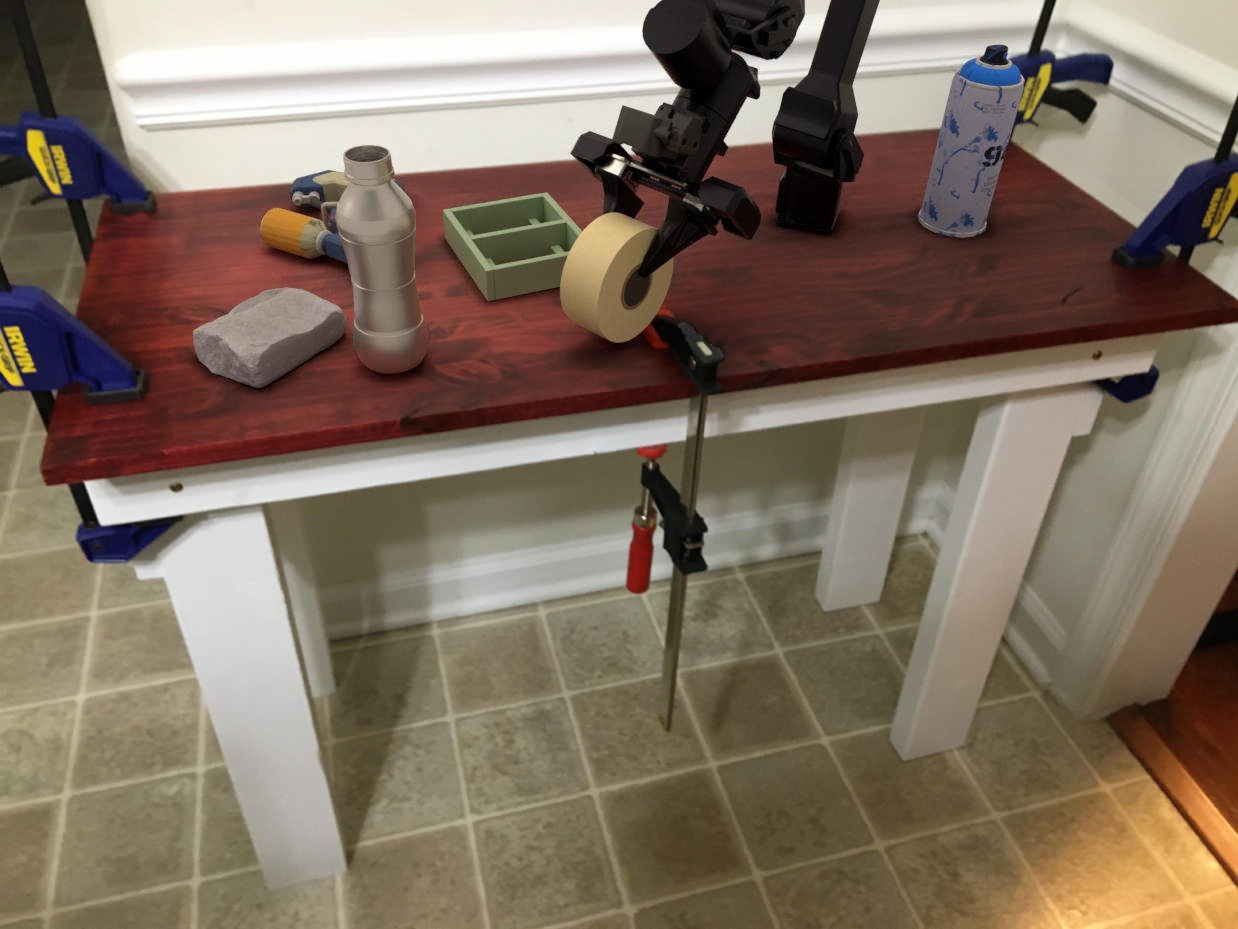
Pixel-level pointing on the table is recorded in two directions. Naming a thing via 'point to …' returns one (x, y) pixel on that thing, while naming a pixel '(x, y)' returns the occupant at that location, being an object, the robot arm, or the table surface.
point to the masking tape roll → (613, 278)
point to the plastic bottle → (381, 262)
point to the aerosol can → (972, 144)
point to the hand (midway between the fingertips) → (620, 266)
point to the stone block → (268, 335)
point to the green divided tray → (512, 243)
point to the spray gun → (309, 218)
